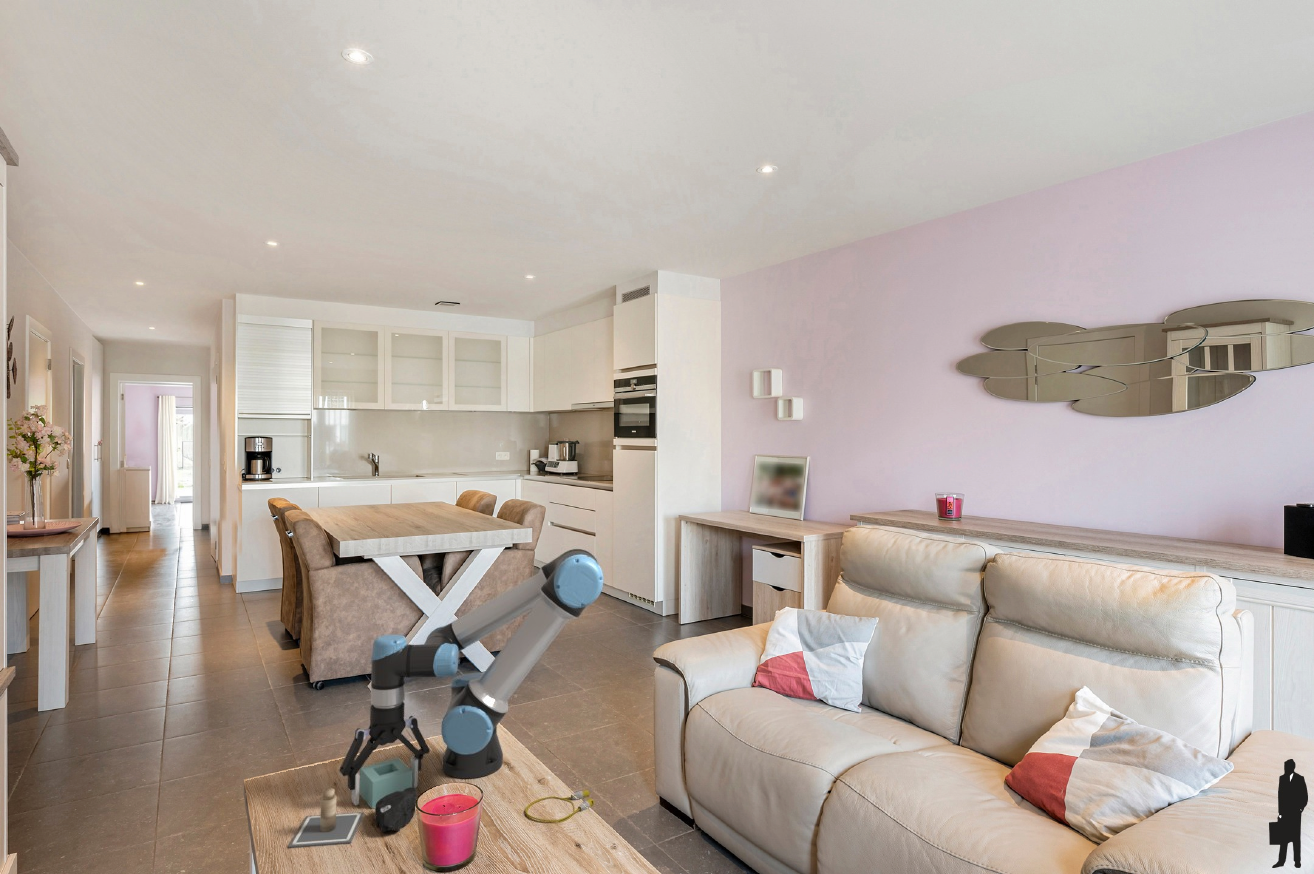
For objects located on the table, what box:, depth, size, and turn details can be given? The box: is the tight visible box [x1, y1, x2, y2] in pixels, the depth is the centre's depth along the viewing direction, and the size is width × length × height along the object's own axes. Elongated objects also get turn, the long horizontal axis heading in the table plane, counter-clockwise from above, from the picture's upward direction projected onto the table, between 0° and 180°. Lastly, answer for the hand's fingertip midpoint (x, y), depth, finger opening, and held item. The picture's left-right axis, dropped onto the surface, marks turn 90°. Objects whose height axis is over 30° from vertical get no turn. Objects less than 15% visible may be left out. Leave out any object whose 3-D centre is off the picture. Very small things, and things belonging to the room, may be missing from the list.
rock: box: [374, 786, 418, 833], centre depth 154 cm, size 10×9×6 cm
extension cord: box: [524, 790, 595, 824], centre depth 161 cm, size 12×16×2 cm
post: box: [319, 787, 337, 832], centre depth 151 cm, size 3×3×8 cm
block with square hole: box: [359, 757, 413, 809], centre depth 166 cm, size 9×9×6 cm
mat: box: [287, 811, 365, 849], centre depth 151 cm, size 12×12×1 cm
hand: (385, 793), depth 166 cm, fingers open, 13 cm apart
